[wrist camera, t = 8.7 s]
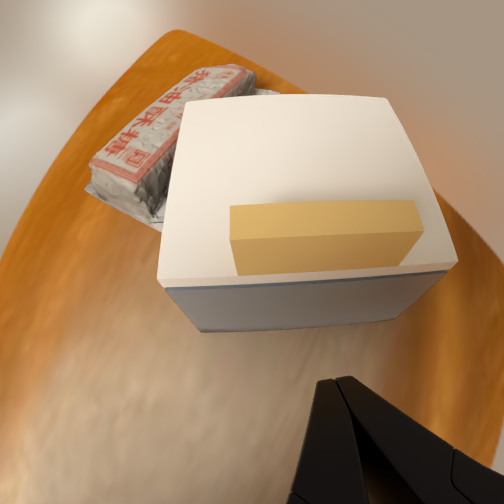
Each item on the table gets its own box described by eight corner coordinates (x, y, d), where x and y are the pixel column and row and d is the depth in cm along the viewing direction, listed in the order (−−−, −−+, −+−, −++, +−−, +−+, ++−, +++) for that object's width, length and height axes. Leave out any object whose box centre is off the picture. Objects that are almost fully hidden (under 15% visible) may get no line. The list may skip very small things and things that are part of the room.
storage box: (393, 319, 18) (447, 272, 12) (200, 332, 18) (165, 290, 12) (361, 182, 23) (382, 112, 17) (207, 188, 23) (189, 116, 17)
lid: (449, 269, 11) (489, 228, 9) (163, 287, 12) (131, 246, 9) (383, 108, 17) (394, 65, 14) (188, 112, 17) (177, 66, 14)
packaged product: (150, 202, 18) (64, 161, 20) (171, 242, 22) (89, 197, 25) (283, 65, 25) (196, 50, 27) (282, 105, 29) (202, 86, 32)
